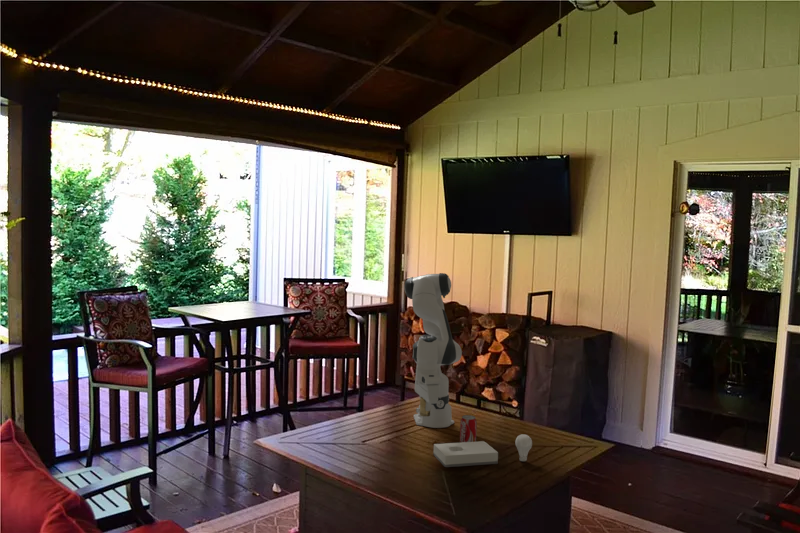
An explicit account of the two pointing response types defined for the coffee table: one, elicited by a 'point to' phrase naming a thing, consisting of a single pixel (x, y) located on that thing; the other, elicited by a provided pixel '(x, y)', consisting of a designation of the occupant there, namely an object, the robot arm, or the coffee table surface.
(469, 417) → the soda can
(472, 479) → the coffee table surface
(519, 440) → the light bulb
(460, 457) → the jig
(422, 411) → the olive glossy cylinder
